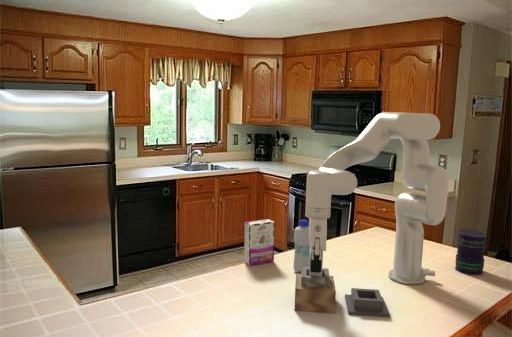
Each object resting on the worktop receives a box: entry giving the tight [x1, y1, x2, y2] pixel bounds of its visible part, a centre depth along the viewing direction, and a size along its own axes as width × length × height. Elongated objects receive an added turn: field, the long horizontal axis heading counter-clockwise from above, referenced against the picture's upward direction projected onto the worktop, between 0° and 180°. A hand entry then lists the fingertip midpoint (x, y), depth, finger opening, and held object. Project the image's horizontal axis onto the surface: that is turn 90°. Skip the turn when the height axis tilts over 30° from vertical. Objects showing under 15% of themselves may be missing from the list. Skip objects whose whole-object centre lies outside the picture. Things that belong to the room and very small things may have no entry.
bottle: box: [293, 219, 310, 274], centre depth 161 cm, size 7×7×20 cm
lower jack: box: [344, 287, 391, 318], centre depth 134 cm, size 12×12×4 cm
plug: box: [309, 246, 324, 276], centre depth 134 cm, size 4×4×12 cm
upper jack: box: [293, 267, 337, 314], centre depth 135 cm, size 12×12×10 cm
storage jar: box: [454, 229, 487, 276], centre depth 166 cm, size 10×10×15 cm
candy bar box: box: [243, 218, 275, 266], centre depth 170 cm, size 11×5×16 cm, turn 117°
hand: (315, 268), depth 134 cm, fingers closed on plug, 4 cm apart
